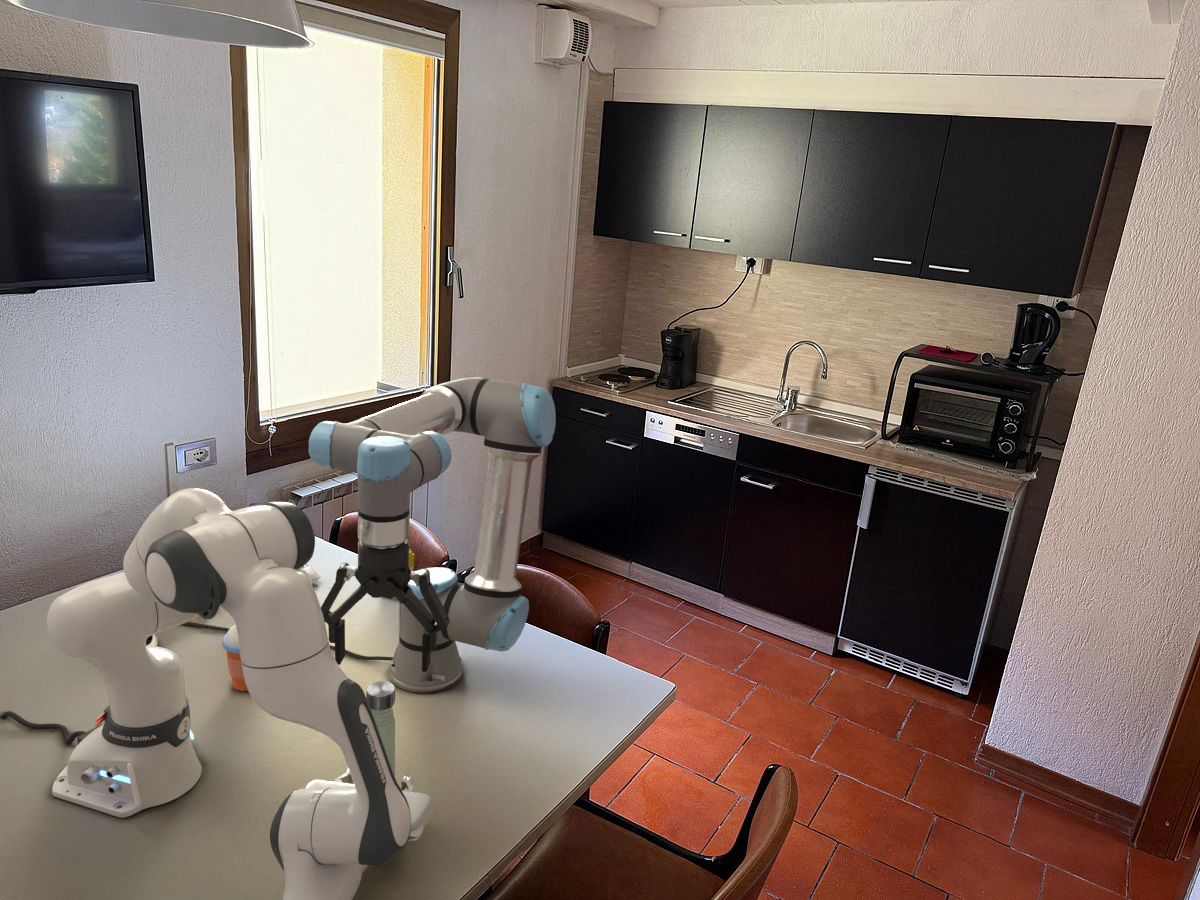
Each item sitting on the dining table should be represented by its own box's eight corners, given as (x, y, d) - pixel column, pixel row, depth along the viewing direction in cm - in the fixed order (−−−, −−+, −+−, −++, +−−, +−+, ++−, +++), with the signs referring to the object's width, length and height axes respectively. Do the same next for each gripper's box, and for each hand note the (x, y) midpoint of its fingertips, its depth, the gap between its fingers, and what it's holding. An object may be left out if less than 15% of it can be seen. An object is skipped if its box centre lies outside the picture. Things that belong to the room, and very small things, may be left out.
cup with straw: (256, 699, 169) (252, 618, 164) (214, 691, 170) (209, 610, 165) (281, 675, 177) (278, 597, 172) (242, 667, 179) (238, 590, 174)
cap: (368, 694, 139) (368, 680, 138) (396, 694, 139) (396, 681, 138) (364, 710, 134) (364, 696, 134) (393, 710, 135) (393, 697, 134)
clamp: (253, 565, 223) (254, 542, 221) (265, 560, 226) (266, 537, 224) (309, 593, 215) (310, 569, 213) (320, 588, 218) (321, 564, 216)
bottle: (369, 800, 145) (368, 682, 138) (396, 800, 145) (397, 683, 139) (364, 819, 140) (363, 699, 134) (392, 819, 141) (393, 699, 134)
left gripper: (418, 827, 127) (443, 767, 140) (284, 809, 128) (321, 751, 141) (417, 861, 128) (442, 799, 142) (285, 843, 130) (322, 783, 143)
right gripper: (470, 536, 132) (466, 657, 138) (309, 523, 132) (312, 645, 138) (461, 556, 125) (457, 683, 131) (291, 542, 125) (295, 670, 131)
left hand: (381, 775), depth 141 cm, fingers open, 8 cm apart
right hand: (383, 663), depth 135 cm, fingers open, 13 cm apart
